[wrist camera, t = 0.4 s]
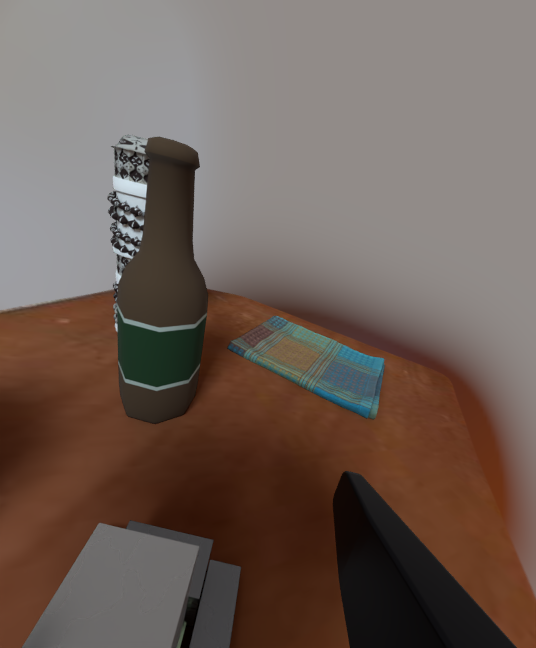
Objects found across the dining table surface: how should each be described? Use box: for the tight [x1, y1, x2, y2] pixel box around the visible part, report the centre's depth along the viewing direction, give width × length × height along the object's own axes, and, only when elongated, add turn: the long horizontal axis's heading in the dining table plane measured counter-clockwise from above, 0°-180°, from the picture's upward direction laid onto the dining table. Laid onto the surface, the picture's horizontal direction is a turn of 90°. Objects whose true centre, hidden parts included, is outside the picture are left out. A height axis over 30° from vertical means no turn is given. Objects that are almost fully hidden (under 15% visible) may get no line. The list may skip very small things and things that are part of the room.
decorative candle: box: [108, 135, 149, 332], centre depth 36 cm, size 9×9×25 cm
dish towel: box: [227, 316, 385, 419], centre depth 43 cm, size 17×23×2 cm
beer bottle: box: [117, 137, 208, 424], centre depth 23 cm, size 8×8×24 cm
